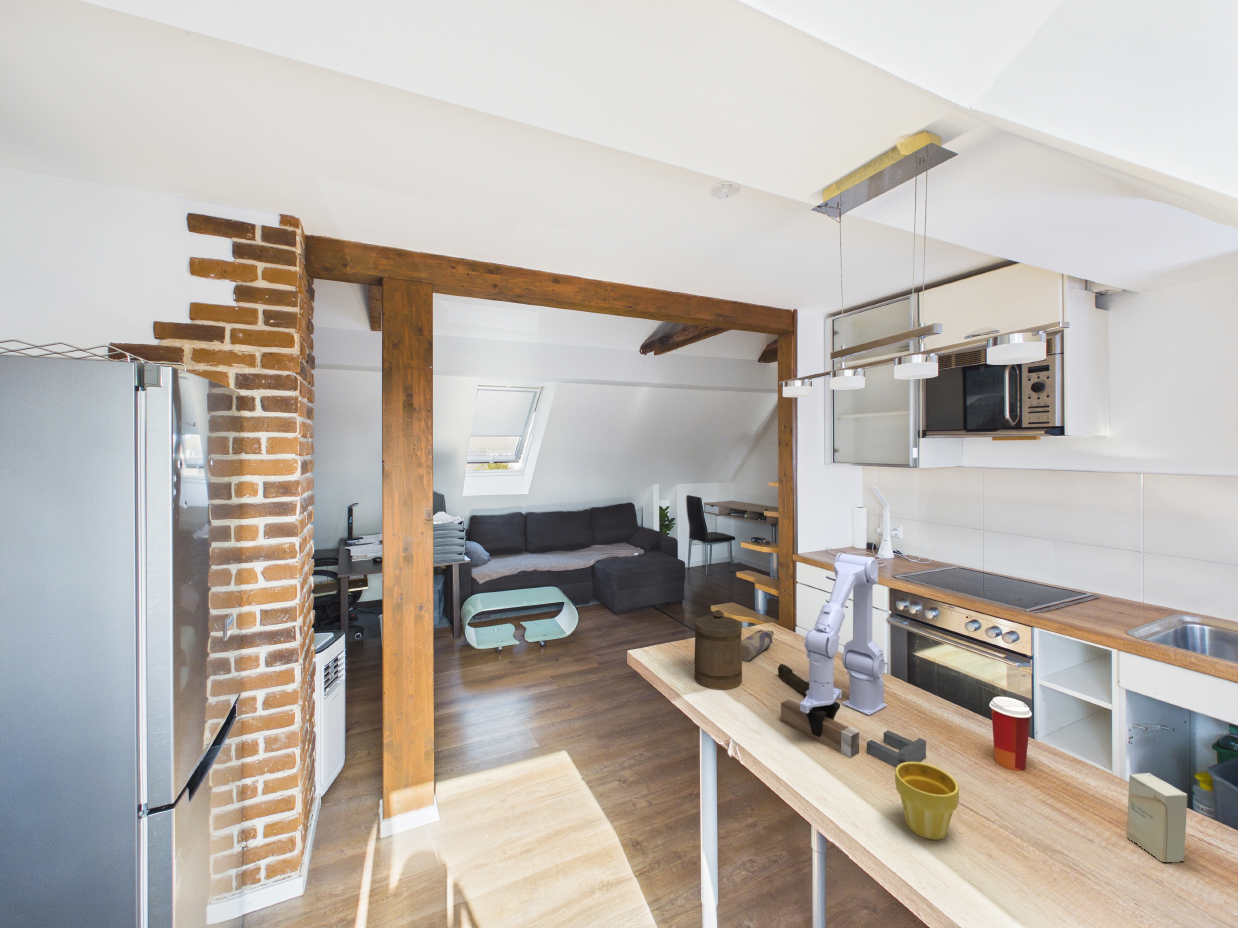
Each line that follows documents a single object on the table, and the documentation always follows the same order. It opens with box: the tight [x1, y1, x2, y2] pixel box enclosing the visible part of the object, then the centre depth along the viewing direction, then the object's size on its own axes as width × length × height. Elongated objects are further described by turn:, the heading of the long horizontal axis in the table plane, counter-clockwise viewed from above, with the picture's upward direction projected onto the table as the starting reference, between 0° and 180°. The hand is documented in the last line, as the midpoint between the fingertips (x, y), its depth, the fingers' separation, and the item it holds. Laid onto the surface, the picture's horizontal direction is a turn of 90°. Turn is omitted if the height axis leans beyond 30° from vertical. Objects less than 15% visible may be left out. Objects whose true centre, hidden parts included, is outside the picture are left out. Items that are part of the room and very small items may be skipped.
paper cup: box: [988, 696, 1033, 772], centre depth 117 cm, size 8×8×14 cm
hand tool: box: [777, 663, 809, 697], centre depth 156 cm, size 19×4×5 cm, turn 14°
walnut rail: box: [780, 699, 860, 758], centre depth 129 cm, size 4×20×5 cm, turn 34°
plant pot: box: [894, 761, 960, 841], centre depth 98 cm, size 10×10×10 cm
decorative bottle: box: [741, 629, 775, 662], centre depth 187 cm, size 26×8×7 cm, turn 140°
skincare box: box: [1126, 772, 1188, 863], centre depth 92 cm, size 6×4×12 cm
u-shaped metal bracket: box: [866, 730, 927, 768], centre depth 121 cm, size 10×9×4 cm
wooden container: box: [693, 609, 743, 690], centre depth 162 cm, size 15×15×22 cm
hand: (821, 732), depth 129 cm, fingers closed on walnut rail, 3 cm apart
